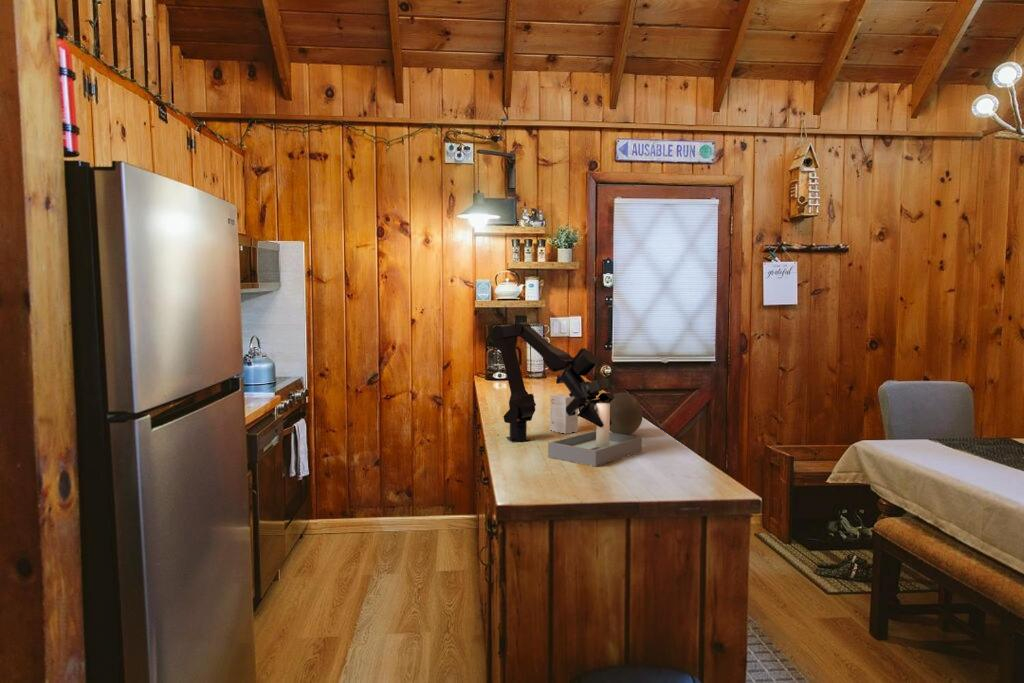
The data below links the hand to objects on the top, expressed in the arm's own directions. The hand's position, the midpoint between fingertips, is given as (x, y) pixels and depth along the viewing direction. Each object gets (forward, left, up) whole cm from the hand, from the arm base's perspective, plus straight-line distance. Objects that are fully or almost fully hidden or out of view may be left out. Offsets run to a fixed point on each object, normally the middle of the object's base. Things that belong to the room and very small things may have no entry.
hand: (606, 425), depth 196 cm
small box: (-39, +2, -10) cm, 40 cm away
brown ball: (-26, +18, -10) cm, 33 cm away
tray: (-3, -2, -9) cm, 10 cm away
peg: (-1, -1, -7) cm, 7 cm away
